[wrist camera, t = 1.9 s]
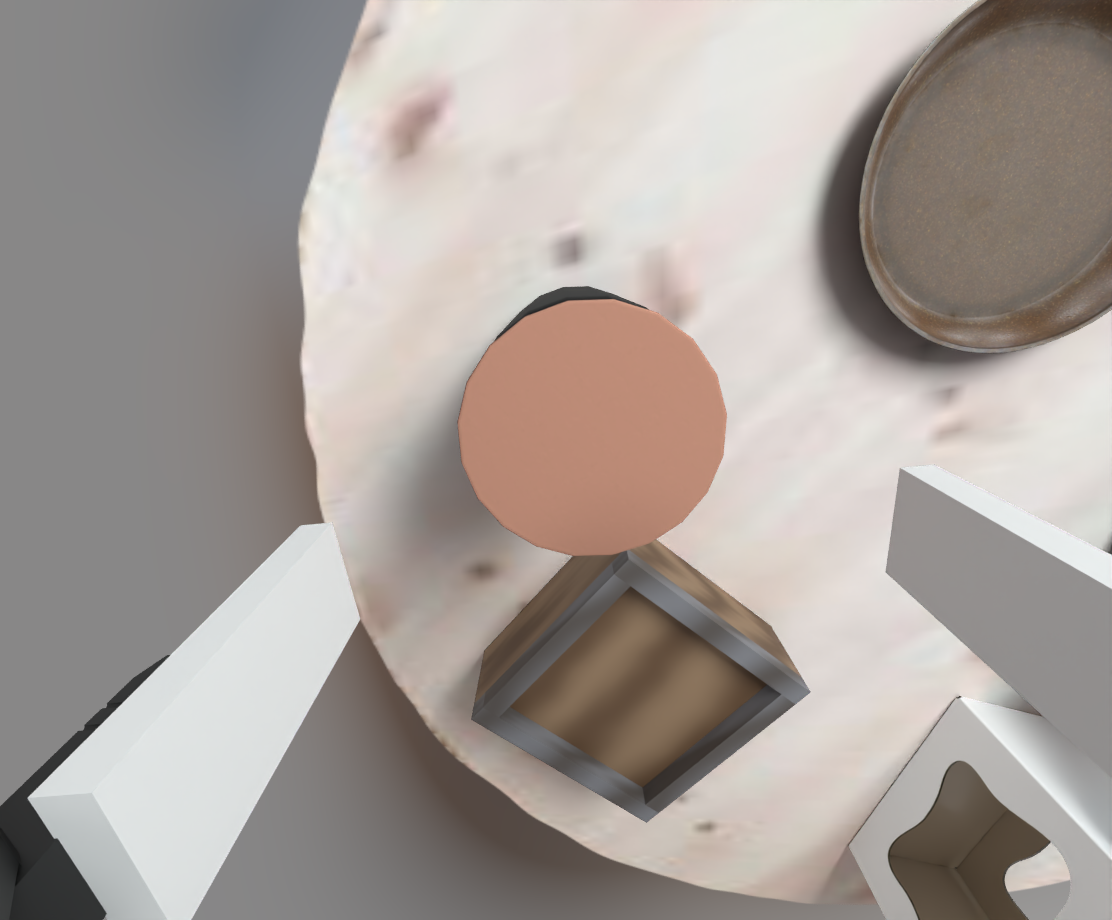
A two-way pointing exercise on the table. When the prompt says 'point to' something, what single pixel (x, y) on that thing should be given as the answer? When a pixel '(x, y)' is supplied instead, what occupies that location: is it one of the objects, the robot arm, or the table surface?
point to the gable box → (988, 819)
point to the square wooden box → (634, 677)
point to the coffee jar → (591, 424)
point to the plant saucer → (997, 179)
